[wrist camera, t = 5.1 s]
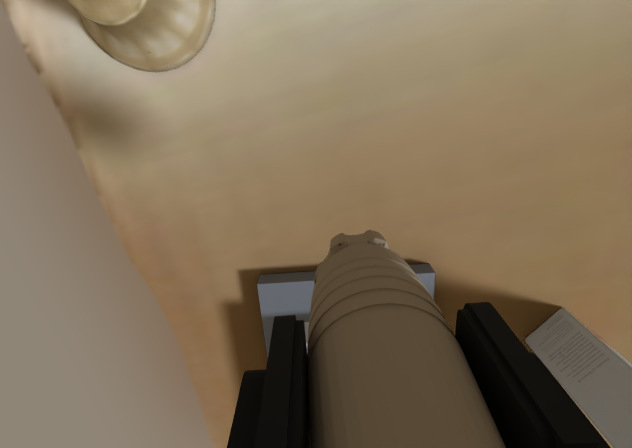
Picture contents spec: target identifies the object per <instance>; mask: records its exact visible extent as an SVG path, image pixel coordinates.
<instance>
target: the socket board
mask: <svg viewBox="0 0 632 448" xmlns="http://www.w3.org/2000/svg"><path fill="white" fill-rule="evenodd" d="M409 266H410V267H411V269H412V270H413V271H414V272H415V274H416V275H417V276H418V277H419V279H420V280H421V281H422V283H423V284H424V286H425V287H426V289H427V290H428V292H429V293H430V295H431V296H432V298H433V299H434V285H435V272H434V270H433V269H432V267H431V266H430V264H414V265H409ZM315 274H316V271H309V272H294V273H278V274H263V275H259V279H258V283H257V288H258V295H259V302H260V309H261V316H262V323H263V330H264V337H265V345H266V352H267V359H268V354H269V348H270V341H271V334H272V328H273V321H274V317H275V316H286V315H296V320H304V325H305V335H306V345H307V343H308V328H309V318H310V308H311V300H312V294H313V289H314V280H315Z"/></svg>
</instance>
